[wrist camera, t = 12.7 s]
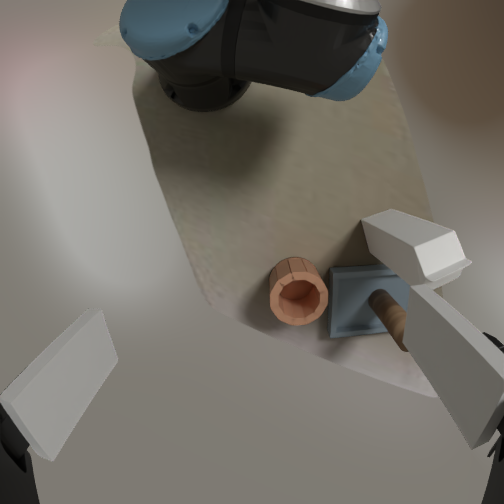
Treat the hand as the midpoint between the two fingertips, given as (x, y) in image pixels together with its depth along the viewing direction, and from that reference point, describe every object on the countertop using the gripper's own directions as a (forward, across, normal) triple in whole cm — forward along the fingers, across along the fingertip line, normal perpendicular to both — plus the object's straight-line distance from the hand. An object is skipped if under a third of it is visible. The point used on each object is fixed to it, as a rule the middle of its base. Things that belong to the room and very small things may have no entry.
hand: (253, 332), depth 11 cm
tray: (+36, +19, -17) cm, 44 cm away
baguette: (+35, +19, -17) cm, 43 cm away
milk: (+36, +20, -5) cm, 42 cm away
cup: (+36, +4, -12) cm, 38 cm away
